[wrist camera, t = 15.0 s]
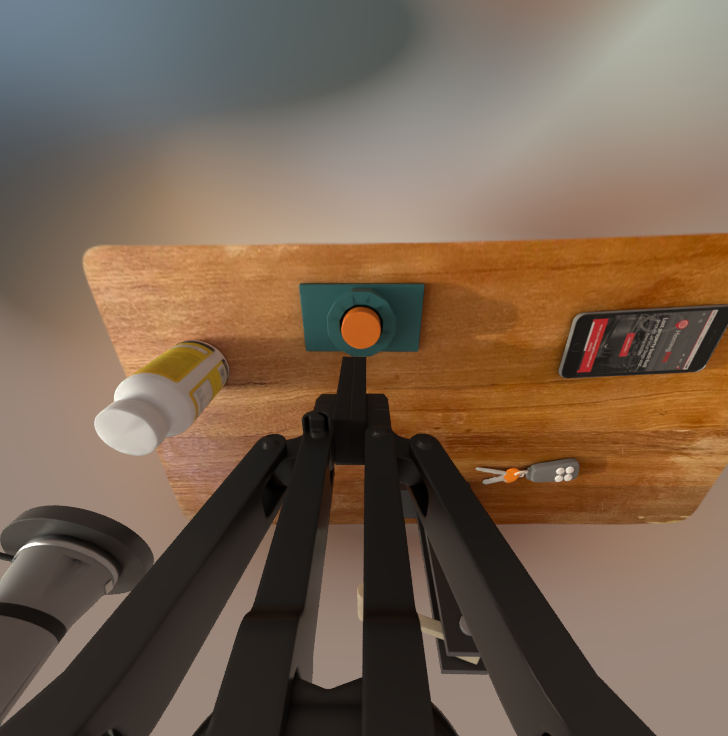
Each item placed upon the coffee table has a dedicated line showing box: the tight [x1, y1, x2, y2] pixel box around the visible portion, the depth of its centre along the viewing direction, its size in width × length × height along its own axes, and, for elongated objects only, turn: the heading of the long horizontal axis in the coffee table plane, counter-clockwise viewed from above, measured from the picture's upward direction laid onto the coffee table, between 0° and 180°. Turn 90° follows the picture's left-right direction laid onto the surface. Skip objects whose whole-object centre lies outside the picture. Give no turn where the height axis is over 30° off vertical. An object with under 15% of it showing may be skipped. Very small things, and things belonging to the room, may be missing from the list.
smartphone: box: [559, 304, 728, 378], centre depth 30 cm, size 7×1×15 cm
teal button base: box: [299, 283, 424, 356], centre depth 28 cm, size 12×7×2 cm, turn 90°
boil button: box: [341, 307, 381, 349], centre depth 27 cm, size 4×4×2 cm
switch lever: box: [357, 583, 480, 665], centre depth 29 cm, size 12×5×2 cm, turn 90°
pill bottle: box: [94, 340, 229, 455], centre depth 27 cm, size 6×6×12 cm
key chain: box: [476, 459, 579, 485], centre depth 38 cm, size 13×4×2 cm, turn 100°
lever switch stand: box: [400, 482, 488, 675], centre depth 34 cm, size 10×6×18 cm, turn 90°
